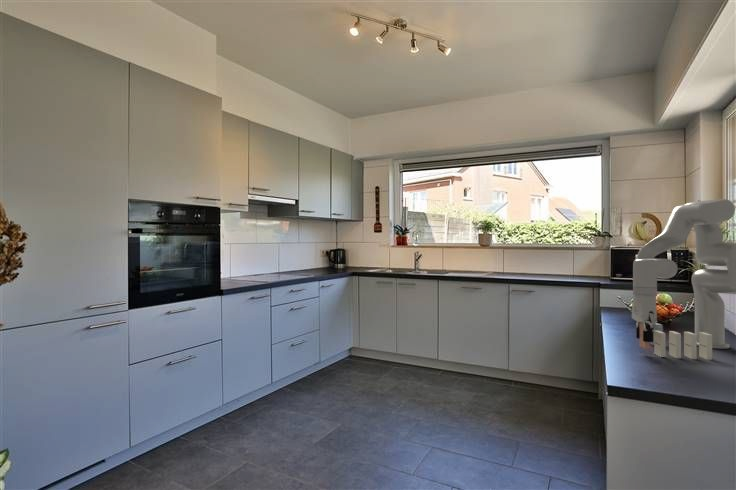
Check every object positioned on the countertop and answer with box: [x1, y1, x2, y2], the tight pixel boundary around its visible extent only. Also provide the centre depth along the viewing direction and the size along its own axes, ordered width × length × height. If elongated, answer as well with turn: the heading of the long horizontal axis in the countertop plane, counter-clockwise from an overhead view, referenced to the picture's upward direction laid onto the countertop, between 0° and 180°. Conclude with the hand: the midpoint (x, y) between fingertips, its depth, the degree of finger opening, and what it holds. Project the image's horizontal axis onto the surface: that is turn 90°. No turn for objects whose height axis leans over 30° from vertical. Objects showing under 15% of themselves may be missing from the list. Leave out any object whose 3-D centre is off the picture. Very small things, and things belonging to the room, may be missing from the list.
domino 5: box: [698, 332, 713, 361], centre depth 150 cm, size 2×5×9 cm, turn 168°
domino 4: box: [683, 331, 698, 360], centre depth 151 cm, size 2×5×9 cm, turn 169°
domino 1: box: [638, 322, 651, 350], centre depth 154 cm, size 2×5×9 cm, turn 169°
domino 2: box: [653, 331, 667, 358], centre depth 153 cm, size 2×5×9 cm, turn 169°
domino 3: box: [668, 330, 682, 359], centre depth 152 cm, size 2×5×9 cm, turn 168°
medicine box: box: [649, 322, 664, 346], centre depth 173 cm, size 8×4×9 cm, turn 168°
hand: (644, 339), depth 154 cm, fingers closed on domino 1, 4 cm apart
